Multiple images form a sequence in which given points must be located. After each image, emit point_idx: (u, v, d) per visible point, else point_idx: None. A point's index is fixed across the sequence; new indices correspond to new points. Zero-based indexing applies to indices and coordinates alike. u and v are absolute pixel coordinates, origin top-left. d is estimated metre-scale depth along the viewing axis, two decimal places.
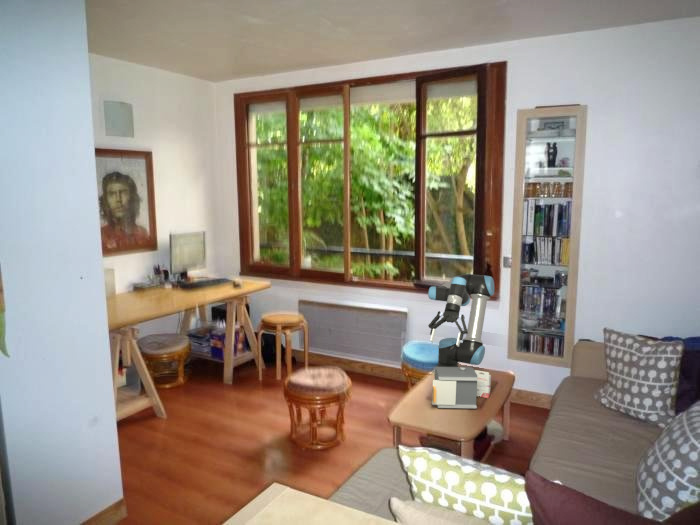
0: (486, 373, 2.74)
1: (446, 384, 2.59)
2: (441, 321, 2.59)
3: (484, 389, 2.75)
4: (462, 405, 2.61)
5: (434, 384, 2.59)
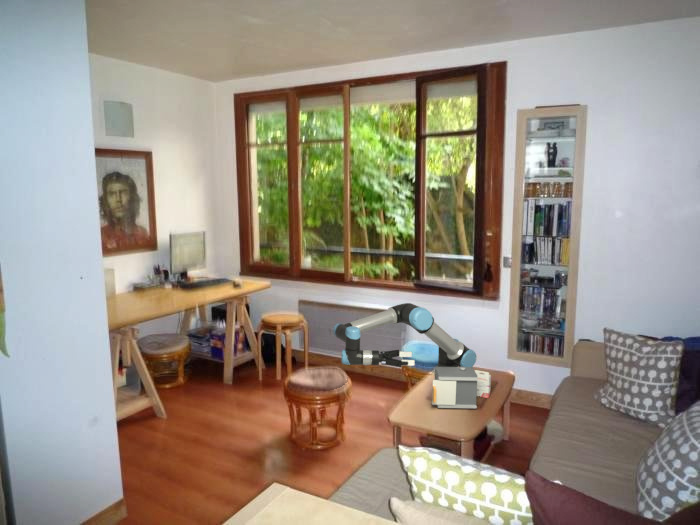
0: (486, 373, 2.74)
1: (446, 384, 2.59)
2: (390, 357, 2.64)
3: (484, 389, 2.75)
4: (462, 405, 2.61)
5: (434, 384, 2.59)
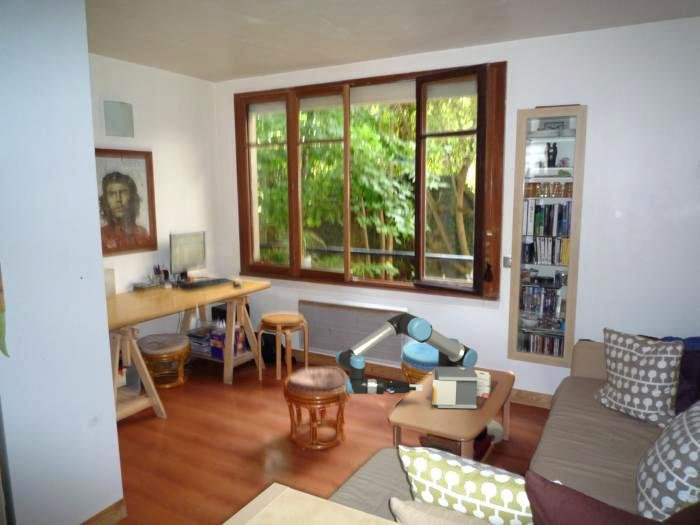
0: (486, 373, 2.74)
1: (446, 384, 2.59)
2: None
3: (484, 389, 2.75)
4: (462, 405, 2.61)
5: (434, 384, 2.59)
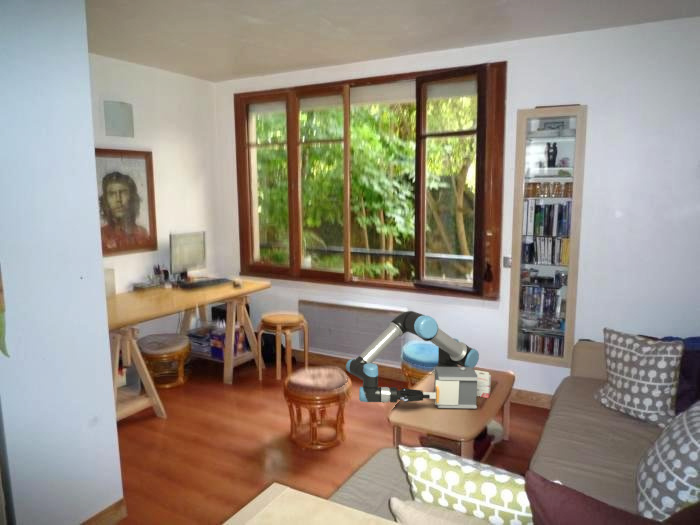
0: (486, 373, 2.74)
1: (449, 384, 2.59)
2: None
3: (484, 389, 2.75)
4: (462, 405, 2.61)
5: (437, 384, 2.59)
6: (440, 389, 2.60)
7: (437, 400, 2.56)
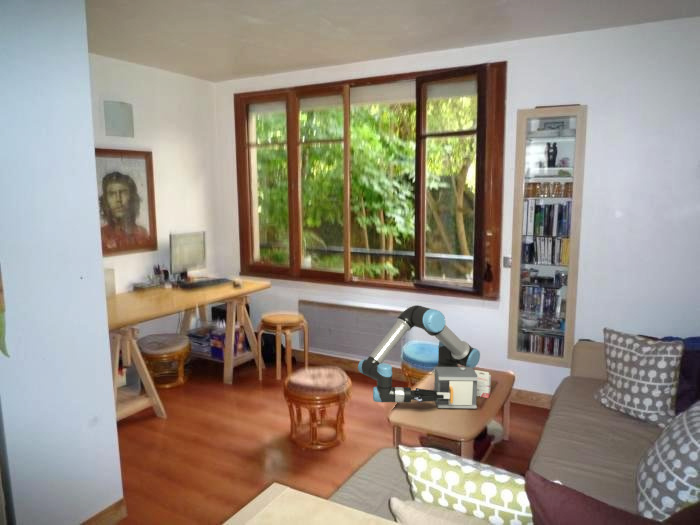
0: (486, 373, 2.74)
1: (463, 384, 2.59)
2: None
3: (484, 389, 2.75)
4: (462, 405, 2.61)
5: (451, 384, 2.59)
6: (454, 389, 2.60)
7: (451, 400, 2.56)
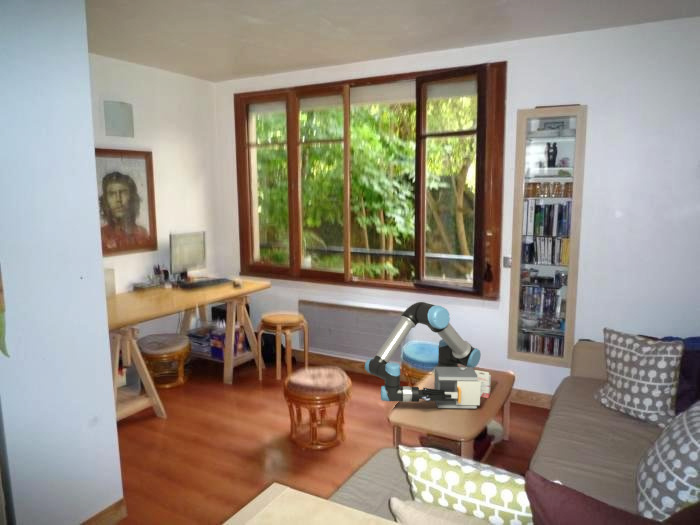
0: (486, 373, 2.74)
1: (470, 384, 2.59)
2: None
3: (484, 389, 2.75)
4: (462, 405, 2.61)
5: (458, 384, 2.59)
6: (462, 389, 2.60)
7: (459, 400, 2.56)
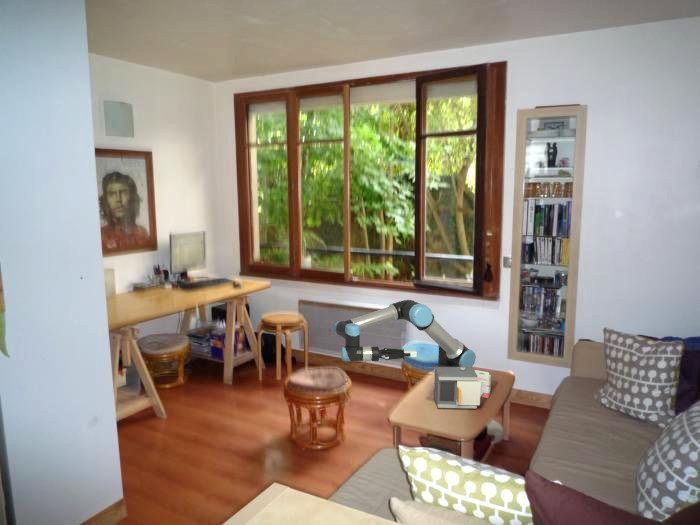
0: (486, 373, 2.74)
1: (470, 384, 2.59)
2: None
3: (484, 389, 2.75)
4: (462, 405, 2.61)
5: (458, 384, 2.59)
6: (462, 389, 2.60)
7: (459, 400, 2.56)
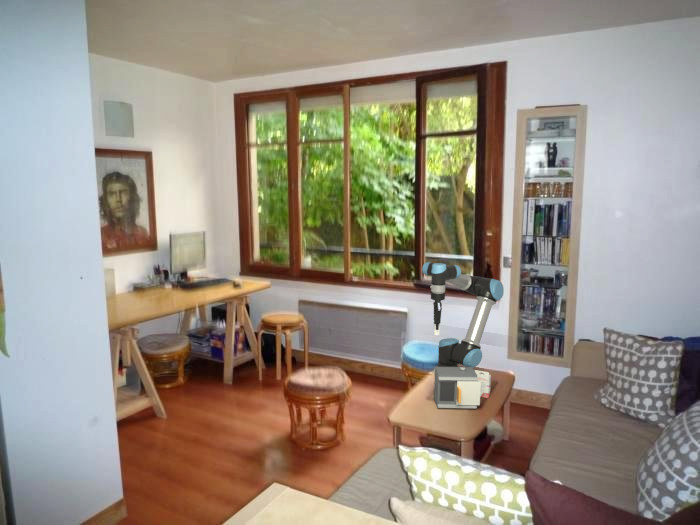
0: (486, 373, 2.74)
1: (470, 384, 2.59)
2: None
3: (484, 389, 2.75)
4: (462, 405, 2.61)
5: (458, 384, 2.59)
6: (462, 389, 2.60)
7: (459, 400, 2.56)
